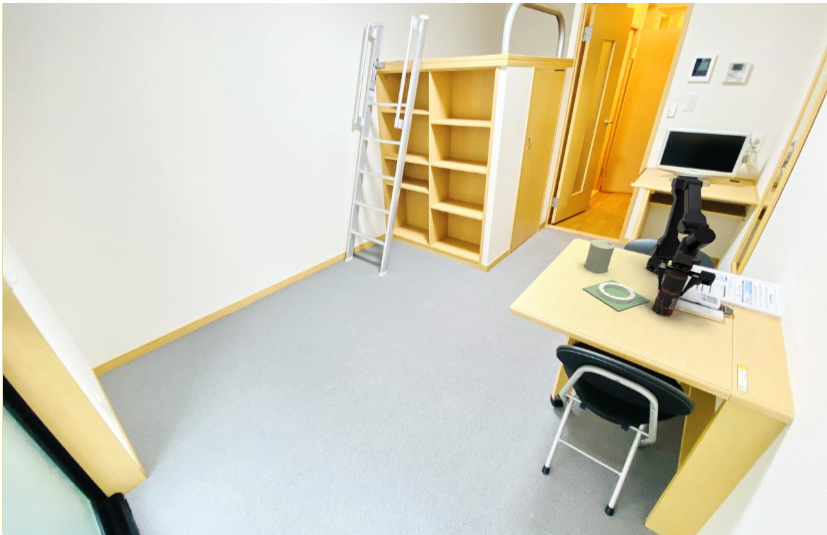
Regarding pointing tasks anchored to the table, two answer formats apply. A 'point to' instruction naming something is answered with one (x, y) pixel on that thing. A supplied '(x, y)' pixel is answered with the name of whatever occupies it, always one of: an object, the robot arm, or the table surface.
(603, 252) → the can
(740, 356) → the table surface
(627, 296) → the putting mat
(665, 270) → the robot arm
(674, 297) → the deodorant
